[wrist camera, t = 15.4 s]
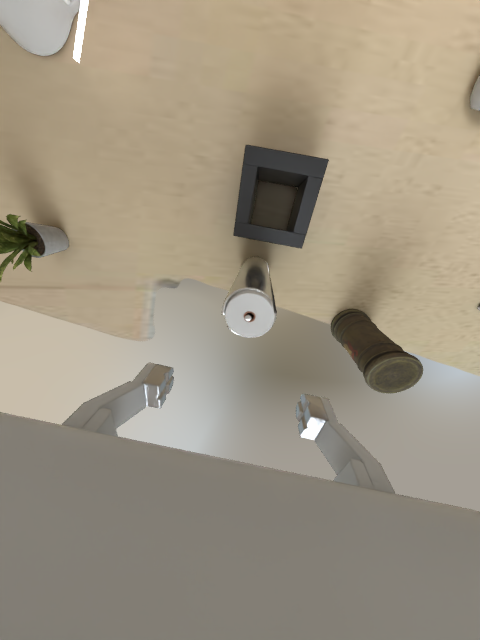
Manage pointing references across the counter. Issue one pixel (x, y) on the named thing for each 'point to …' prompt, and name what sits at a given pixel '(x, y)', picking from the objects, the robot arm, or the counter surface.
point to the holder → (286, 172)
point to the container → (375, 353)
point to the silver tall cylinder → (250, 300)
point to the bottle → (475, 95)
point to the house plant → (29, 241)
